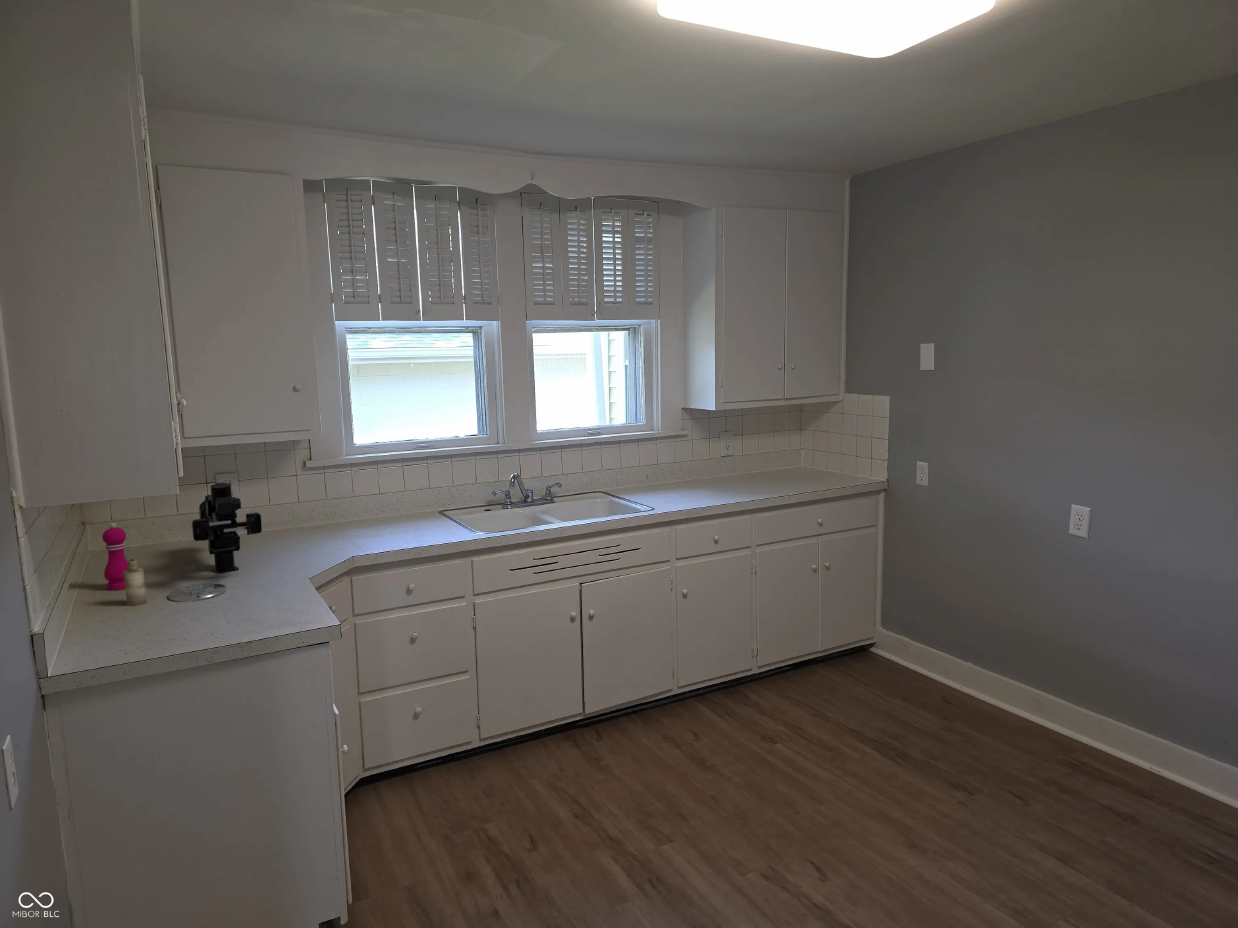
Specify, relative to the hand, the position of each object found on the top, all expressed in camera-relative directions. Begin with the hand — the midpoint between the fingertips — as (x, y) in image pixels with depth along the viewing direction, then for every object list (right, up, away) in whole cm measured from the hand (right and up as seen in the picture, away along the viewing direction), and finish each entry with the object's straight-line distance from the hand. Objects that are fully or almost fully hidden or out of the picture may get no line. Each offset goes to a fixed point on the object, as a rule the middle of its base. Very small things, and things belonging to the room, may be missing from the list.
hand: (231, 535), depth 231 cm
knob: (-22, -18, -9) cm, 30 cm away
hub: (-9, -17, -1) cm, 20 cm away
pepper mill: (-37, -17, +6) cm, 41 cm away
